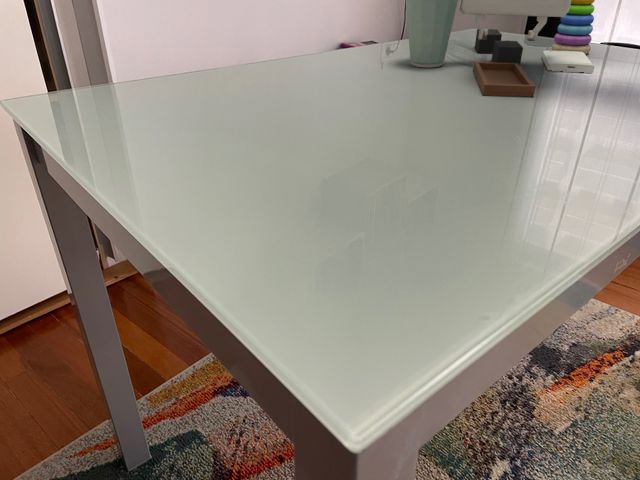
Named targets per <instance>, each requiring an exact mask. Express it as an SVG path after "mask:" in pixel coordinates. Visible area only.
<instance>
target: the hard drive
mask: <svg viewBox="0 0 640 480" xmlns="http://www.w3.org/2000/svg"><path fill="white" fill-rule="evenodd" d="M541 59H542V61H543V63H544V65H545V67H546V69H547V71H549V70H552V71H551V72H560V71H563V73H579V72H584V73H583V74H592V73H594V70H595V65H594V64H593V63H592V61H591V60H590V59H589V57H588V56H587V54H584V53H583V52H577V51H553V50H547V49H545V50H543V51H542V53H541Z"/></svg>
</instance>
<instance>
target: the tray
mask: <svg viewBox="0 0 640 480" xmlns="http://www.w3.org/2000/svg"><path fill="white" fill-rule="evenodd" d="M472 73H473V75H474V77H475V80H476V82H477V84H478V87H479V89H480V92H481V95H482V96H488V97H489V96H490V97H491V96H492V97H515V96H534V97H535V92H536V87H537V86H536V84H535V83H534V82H533V80H532V79H531V78H530V77H529V75H528V74H527V73H526V72H525V70H524V69H523V68H522V67H521V65H520V66H519V64H518V63H496V62H492V61H490V62H489V61H474V62H473V67H472Z"/></svg>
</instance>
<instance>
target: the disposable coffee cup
mask: <svg viewBox="0 0 640 480" xmlns="http://www.w3.org/2000/svg"><path fill="white" fill-rule="evenodd" d="M458 1H459V0H405V10H406V23H407V25H406V26H407V35H408V36H407V37H408V47H409V49H408V50H409V60H410V62H411V66H413V67H417V68H438V67H439V68H440V67H442V66H443V65H444V64H443V63H444V62H445V60H446V56H447V55H446V54H447V50H448V47H449V41H450V37H451V33H452V28H453V24H454V20H455V15H456V10H457V6H458V3H459V2H458Z"/></svg>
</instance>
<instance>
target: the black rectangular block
mask: <svg viewBox="0 0 640 480" xmlns="http://www.w3.org/2000/svg"><path fill="white" fill-rule="evenodd" d="M523 52H524V47H523V46H522V44H520V42H519V41H517V40H501V41H494V47H493V53H492V54H491V61H490V62H496V63H518V64H519V66H520V67H521V61H522V57H523Z"/></svg>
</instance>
